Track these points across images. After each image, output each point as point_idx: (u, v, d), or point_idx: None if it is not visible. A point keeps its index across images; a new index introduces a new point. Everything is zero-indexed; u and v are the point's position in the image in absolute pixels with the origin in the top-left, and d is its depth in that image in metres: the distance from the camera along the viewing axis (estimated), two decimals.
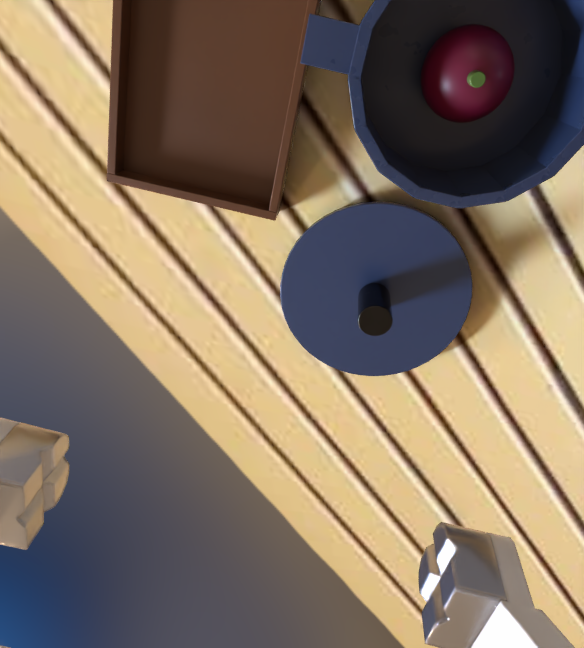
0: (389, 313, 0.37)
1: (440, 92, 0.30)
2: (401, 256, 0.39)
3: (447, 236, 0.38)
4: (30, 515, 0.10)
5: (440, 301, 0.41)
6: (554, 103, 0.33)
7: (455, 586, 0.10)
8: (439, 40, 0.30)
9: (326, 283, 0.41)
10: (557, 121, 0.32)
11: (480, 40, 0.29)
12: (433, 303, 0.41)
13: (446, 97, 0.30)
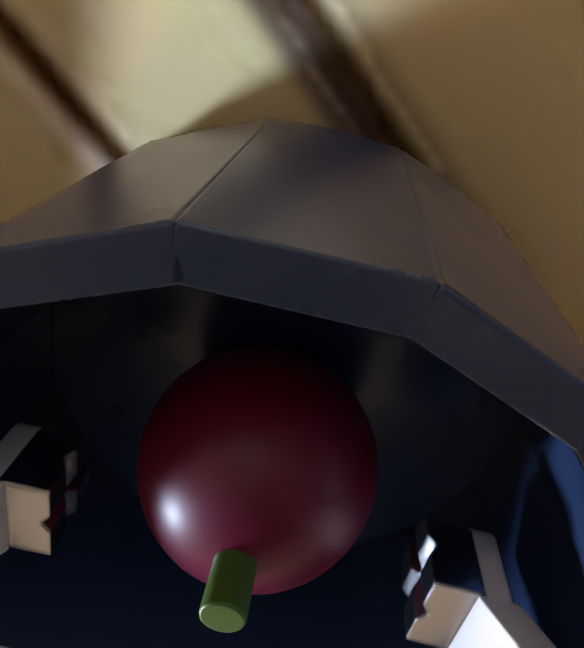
0: None
1: (165, 551, 0.11)
2: None
3: None
4: (54, 521, 0.10)
5: None
6: (499, 484, 0.14)
7: (433, 581, 0.10)
8: (163, 403, 0.11)
9: None
10: None
11: (247, 459, 0.09)
12: None
13: (181, 567, 0.11)
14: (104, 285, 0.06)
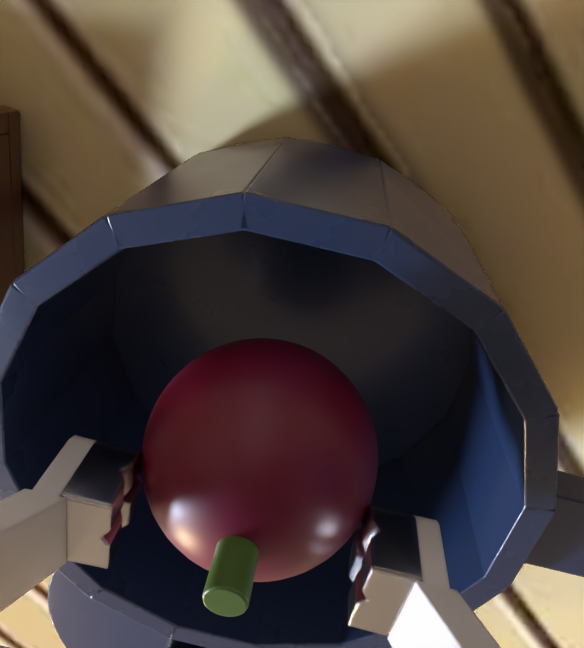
0: None
1: (169, 539, 0.11)
2: None
3: None
4: (112, 535, 0.10)
5: None
6: (458, 415, 0.18)
7: (370, 566, 0.10)
8: (168, 394, 0.11)
9: (119, 615, 0.25)
10: (457, 472, 0.16)
11: (250, 449, 0.10)
12: None
13: (184, 554, 0.11)
14: (200, 231, 0.10)
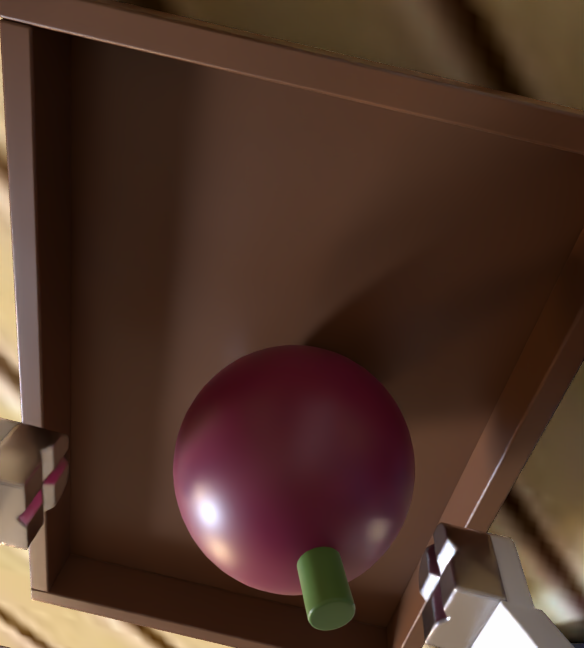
0: None
1: (227, 570, 0.10)
2: None
3: None
4: (30, 515, 0.10)
5: None
6: None
7: (454, 586, 0.10)
8: (205, 417, 0.10)
9: None
10: None
11: (322, 455, 0.09)
12: None
13: (246, 582, 0.10)
14: None
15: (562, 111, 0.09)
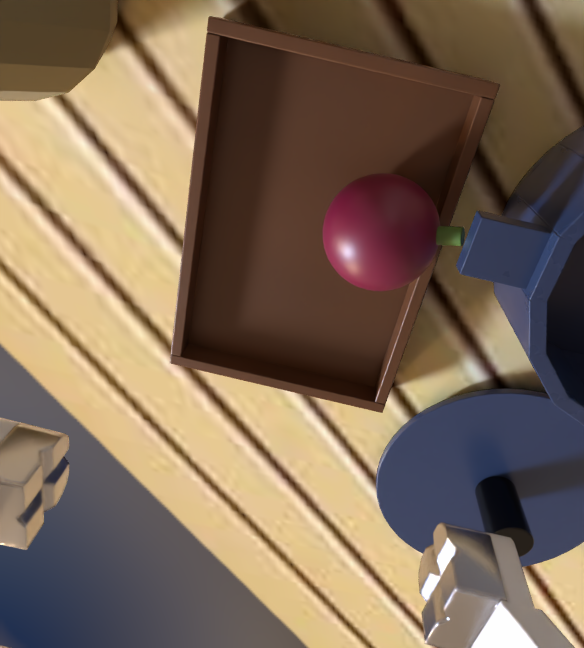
0: (531, 536, 0.29)
1: (410, 257, 0.22)
2: (536, 450, 0.31)
3: None
4: (30, 515, 0.10)
5: (579, 498, 0.33)
6: None
7: (454, 585, 0.10)
8: (377, 193, 0.22)
9: (436, 474, 0.33)
10: None
11: (424, 191, 0.23)
12: (569, 500, 0.33)
13: (416, 262, 0.23)
14: None
15: (441, 70, 0.22)
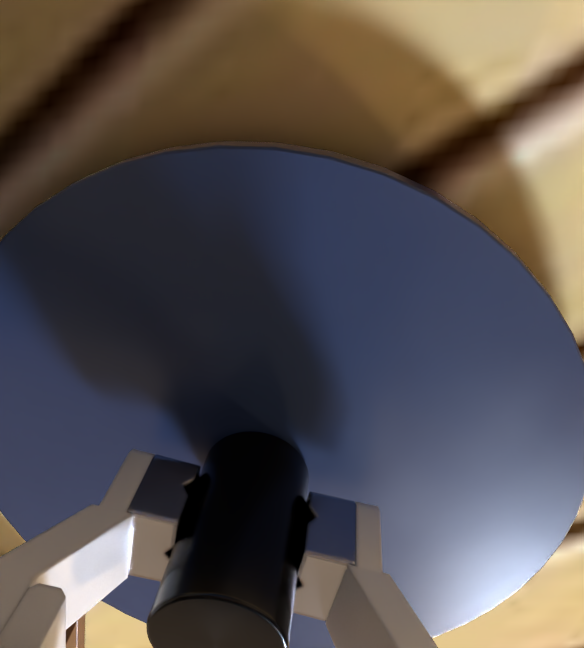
0: (170, 603, 0.09)
1: None
2: (104, 399, 0.12)
3: None
4: None
5: (255, 270, 0.10)
6: None
7: (304, 550, 0.10)
8: None
9: None
10: None
11: None
12: (267, 296, 0.10)
13: None
14: None
15: None
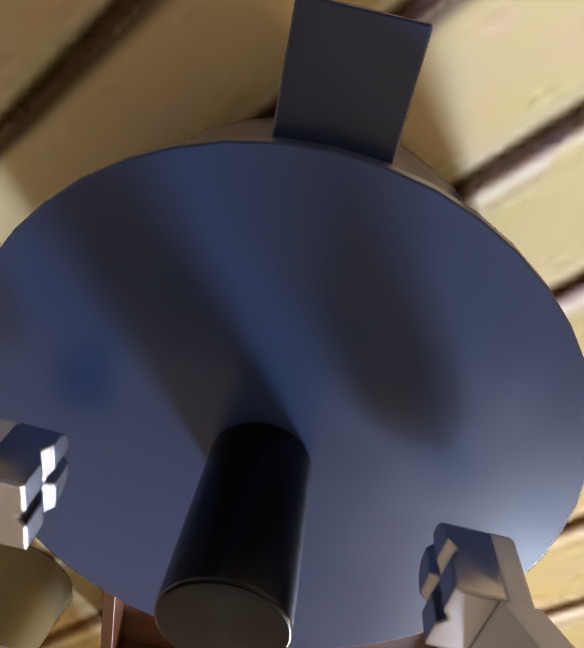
0: (177, 587, 0.09)
1: None
2: (111, 391, 0.12)
3: (7, 261, 0.11)
4: (30, 515, 0.10)
5: (259, 263, 0.10)
6: None
7: (454, 585, 0.10)
8: None
9: None
10: None
11: None
12: (272, 288, 0.10)
13: None
14: None
15: None
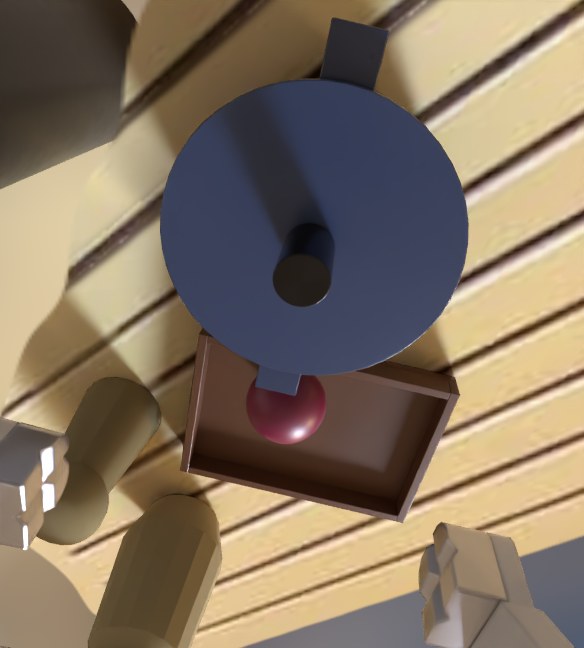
0: (285, 259, 0.21)
1: (280, 406, 0.33)
2: (237, 208, 0.25)
3: (197, 138, 0.24)
4: (30, 515, 0.10)
5: (314, 136, 0.23)
6: None
7: (454, 586, 0.10)
8: (248, 414, 0.34)
9: (290, 314, 0.27)
10: None
11: None
12: (319, 149, 0.23)
13: (286, 401, 0.33)
14: None
15: None
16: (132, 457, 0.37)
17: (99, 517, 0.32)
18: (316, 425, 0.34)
